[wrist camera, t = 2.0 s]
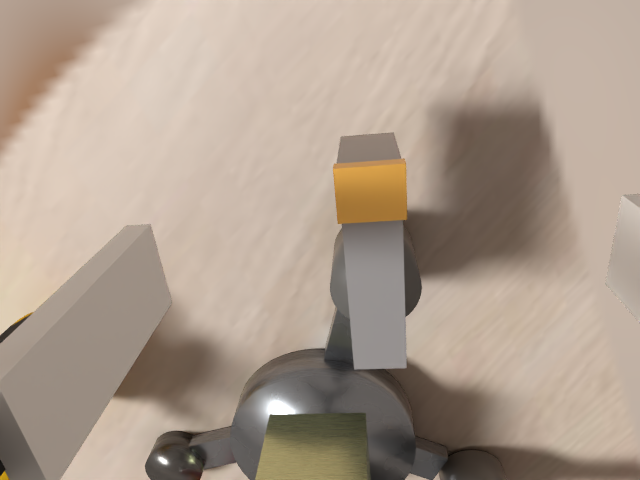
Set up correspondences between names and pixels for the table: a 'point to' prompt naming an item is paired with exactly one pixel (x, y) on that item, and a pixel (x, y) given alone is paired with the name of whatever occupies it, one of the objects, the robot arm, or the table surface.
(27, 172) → the table surface
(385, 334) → the knob
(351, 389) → the tribrach
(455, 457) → the knob
